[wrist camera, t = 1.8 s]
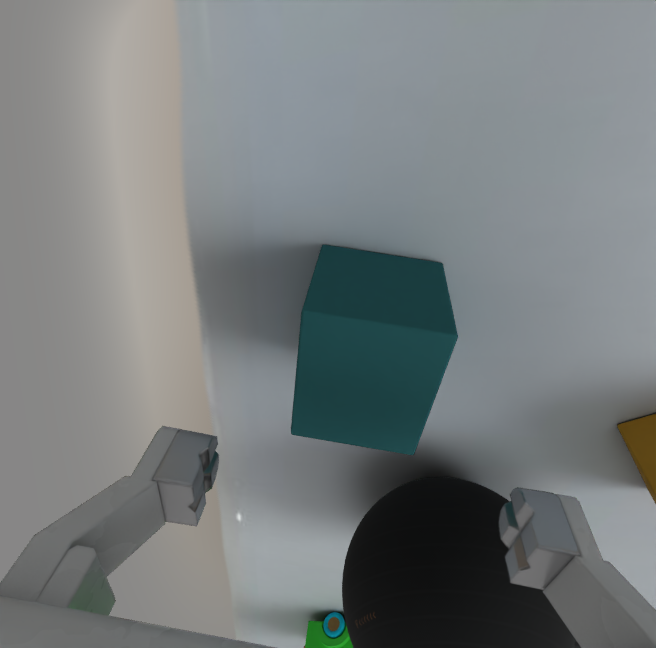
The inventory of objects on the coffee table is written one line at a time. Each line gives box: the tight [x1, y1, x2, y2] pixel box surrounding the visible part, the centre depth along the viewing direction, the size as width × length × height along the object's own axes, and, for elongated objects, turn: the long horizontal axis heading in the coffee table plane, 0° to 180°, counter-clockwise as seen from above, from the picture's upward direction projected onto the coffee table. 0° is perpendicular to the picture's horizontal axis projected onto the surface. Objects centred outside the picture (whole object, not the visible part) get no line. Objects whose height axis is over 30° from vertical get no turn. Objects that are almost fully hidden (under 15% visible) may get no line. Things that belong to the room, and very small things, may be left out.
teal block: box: [291, 245, 458, 455], centre depth 15 cm, size 6×4×4 cm
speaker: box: [342, 477, 575, 648], centre depth 20 cm, size 10×10×10 cm
